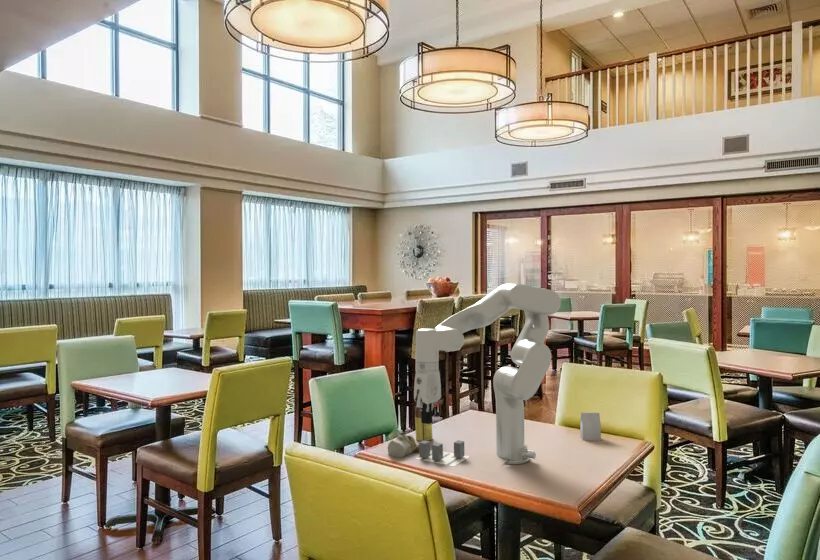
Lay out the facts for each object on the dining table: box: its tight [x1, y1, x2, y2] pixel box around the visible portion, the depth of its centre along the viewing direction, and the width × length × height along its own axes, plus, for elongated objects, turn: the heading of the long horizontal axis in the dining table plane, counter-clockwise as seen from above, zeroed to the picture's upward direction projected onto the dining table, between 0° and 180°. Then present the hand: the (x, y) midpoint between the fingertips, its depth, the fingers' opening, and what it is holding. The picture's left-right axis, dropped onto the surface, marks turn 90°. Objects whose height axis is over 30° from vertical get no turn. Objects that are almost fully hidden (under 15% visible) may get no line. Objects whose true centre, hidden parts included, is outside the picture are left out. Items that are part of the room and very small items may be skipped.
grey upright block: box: [579, 412, 602, 441], centre depth 216 cm, size 4×7×10 cm, turn 87°
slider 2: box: [431, 442, 444, 461], centre depth 190 cm, size 2×3×5 cm
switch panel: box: [414, 449, 470, 467], centre depth 192 cm, size 15×11×2 cm
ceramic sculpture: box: [387, 432, 419, 458], centre depth 200 cm, size 11×9×15 cm
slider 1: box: [418, 440, 431, 459], centre depth 192 cm, size 2×3×5 cm
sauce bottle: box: [414, 404, 433, 442], centre depth 214 cm, size 7×6×20 cm
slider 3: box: [453, 439, 465, 458], centre depth 192 cm, size 2×3×5 cm
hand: (426, 422), depth 184 cm, fingers closed
